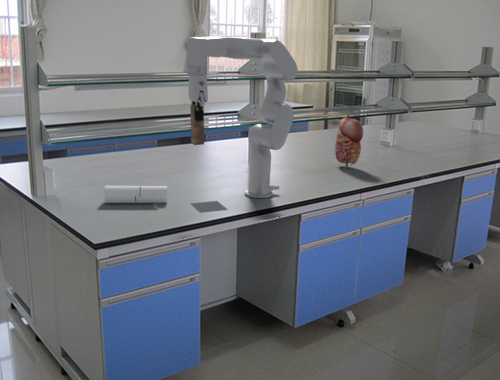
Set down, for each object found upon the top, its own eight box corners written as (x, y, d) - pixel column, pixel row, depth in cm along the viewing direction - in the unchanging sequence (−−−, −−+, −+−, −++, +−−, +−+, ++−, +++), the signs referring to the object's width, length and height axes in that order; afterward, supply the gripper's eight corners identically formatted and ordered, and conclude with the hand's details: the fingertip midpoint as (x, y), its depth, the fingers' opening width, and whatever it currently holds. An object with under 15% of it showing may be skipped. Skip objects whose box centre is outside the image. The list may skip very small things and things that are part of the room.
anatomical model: (345, 163, 302) (350, 111, 293) (364, 170, 289) (370, 116, 280) (328, 165, 296) (333, 112, 287) (347, 172, 283) (352, 116, 274)
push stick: (200, 142, 208) (200, 104, 203) (204, 144, 204) (203, 105, 200) (191, 143, 206) (190, 105, 202) (194, 145, 203) (193, 106, 198)
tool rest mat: (217, 202, 222) (217, 200, 222) (227, 211, 212) (227, 209, 211) (190, 204, 217) (190, 203, 217) (199, 213, 207) (199, 212, 206)
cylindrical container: (167, 198, 222) (106, 198, 218) (167, 183, 219) (106, 182, 215) (167, 206, 215) (104, 206, 212) (167, 190, 212) (103, 190, 209)
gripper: (214, 73, 191) (213, 122, 197) (199, 69, 206) (199, 115, 211) (194, 73, 188) (194, 123, 194) (181, 69, 203) (181, 116, 208)
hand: (197, 119), depth 202 cm, fingers closed on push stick, 4 cm apart
